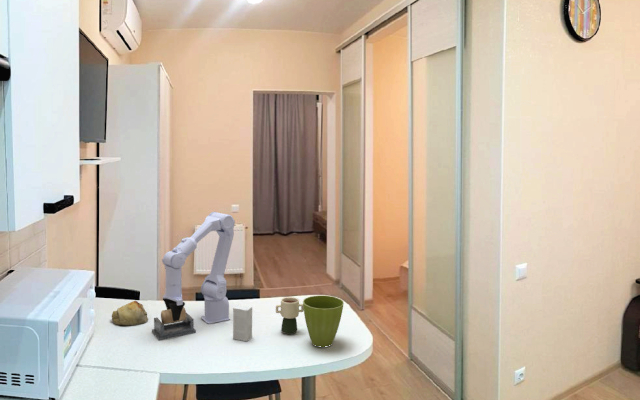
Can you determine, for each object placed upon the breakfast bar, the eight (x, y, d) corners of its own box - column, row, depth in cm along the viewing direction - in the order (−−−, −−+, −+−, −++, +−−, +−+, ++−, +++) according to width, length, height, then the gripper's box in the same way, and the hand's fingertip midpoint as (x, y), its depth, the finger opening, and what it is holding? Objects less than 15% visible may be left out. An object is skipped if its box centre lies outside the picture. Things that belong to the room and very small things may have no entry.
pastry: (155, 319, 196) (155, 300, 195) (132, 329, 184) (131, 309, 183) (128, 313, 201) (128, 294, 200) (105, 323, 190) (104, 303, 189)
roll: (181, 318, 186) (181, 305, 186) (186, 322, 182) (186, 308, 182) (161, 322, 182) (160, 309, 182) (165, 326, 178) (164, 312, 177)
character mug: (301, 328, 191) (302, 296, 190) (304, 335, 184) (305, 302, 183) (274, 329, 189) (274, 297, 187) (276, 336, 182) (277, 303, 180)
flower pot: (297, 337, 182) (298, 296, 180) (334, 333, 186) (336, 294, 184) (307, 354, 168) (308, 310, 166) (347, 350, 172) (349, 307, 170)
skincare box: (252, 337, 181) (252, 306, 179) (247, 341, 177) (247, 310, 175) (238, 334, 183) (238, 304, 181) (232, 339, 179) (232, 308, 177)
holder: (187, 324, 190) (187, 311, 190) (195, 332, 183) (195, 318, 182) (151, 332, 182) (151, 318, 182) (158, 340, 175) (158, 326, 174)
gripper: (157, 279, 184) (157, 313, 186) (169, 290, 172) (169, 326, 174) (175, 277, 188) (175, 310, 190) (188, 287, 176) (188, 322, 178)
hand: (173, 318), depth 182 cm, fingers closed on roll, 5 cm apart
